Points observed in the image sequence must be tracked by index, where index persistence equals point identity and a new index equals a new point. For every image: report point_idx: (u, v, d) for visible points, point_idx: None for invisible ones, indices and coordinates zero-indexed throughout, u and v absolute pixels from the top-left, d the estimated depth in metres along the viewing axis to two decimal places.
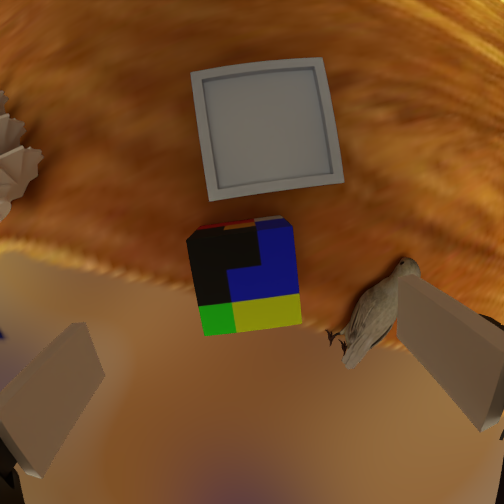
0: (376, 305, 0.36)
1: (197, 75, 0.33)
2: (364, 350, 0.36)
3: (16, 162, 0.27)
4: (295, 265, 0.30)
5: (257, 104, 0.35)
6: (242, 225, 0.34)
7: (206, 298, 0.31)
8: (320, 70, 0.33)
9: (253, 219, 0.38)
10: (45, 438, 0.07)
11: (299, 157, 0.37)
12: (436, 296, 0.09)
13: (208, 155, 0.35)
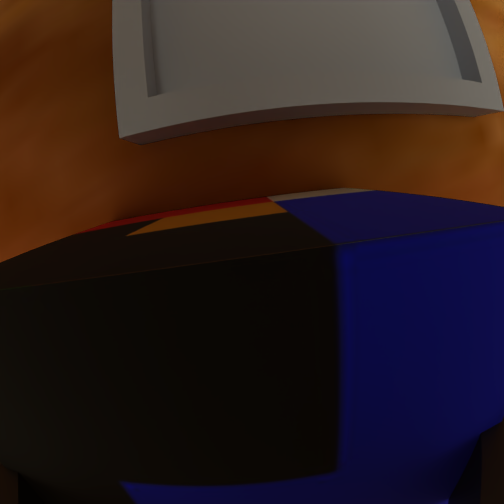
0: None
1: None
2: None
3: None
4: None
5: None
6: (223, 213, 0.08)
7: None
8: None
9: (266, 198, 0.12)
10: None
11: (391, 34, 0.10)
12: None
13: (130, 10, 0.09)
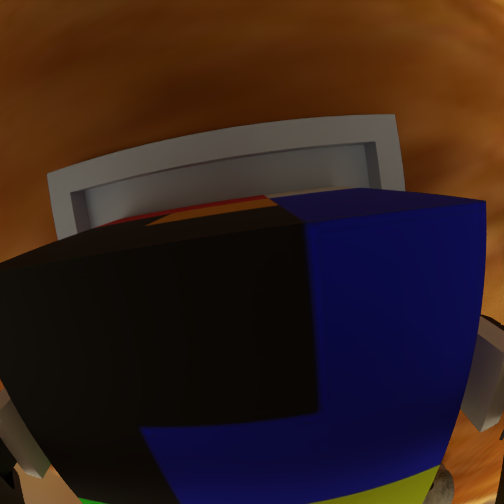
0: None
1: (61, 183, 0.12)
2: None
3: None
4: (463, 386, 0.05)
5: None
6: (225, 208, 0.09)
7: (92, 489, 0.06)
8: (389, 154, 0.12)
9: (262, 195, 0.13)
10: None
11: None
12: None
13: None
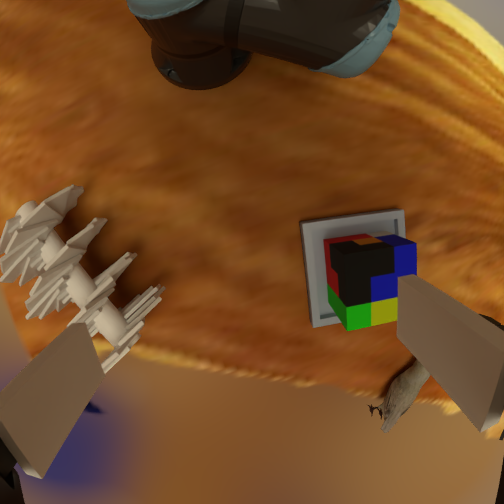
0: (402, 392, 0.48)
1: (308, 227, 0.44)
2: (395, 420, 0.47)
3: None
4: (416, 272, 0.37)
5: None
6: (369, 240, 0.41)
7: (353, 300, 0.37)
8: (401, 222, 0.44)
9: (367, 234, 0.45)
10: (45, 438, 0.07)
11: None
12: (436, 296, 0.09)
13: (315, 295, 0.46)
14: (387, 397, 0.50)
